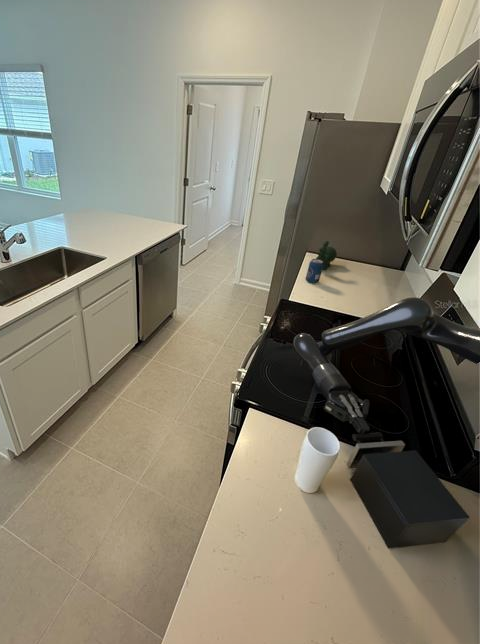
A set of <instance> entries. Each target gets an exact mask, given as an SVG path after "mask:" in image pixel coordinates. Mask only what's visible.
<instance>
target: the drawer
mask: <svg viewBox="0 0 480 644" xmlns="http://www.w3.org/2000/svg"><path fill="white" fill-rule="evenodd" d="M351 438H352V440H353V441H354V442H356V444H355V446H354V448H353V449H352V451H351V454H350V456H349V458H348V460H347V462H346V464H345V465H346V466H347V468H348V469H349V470H351V469H356V467H357V466H358V464H359V462H360V460H361V458H362V457H363V454H374V453H388V452H401V451H403V450H404V448H405V446H406V444H405V442H404V441H403V440H388V441H385V439H384V435H383V433H382V432H380V431H378V432H369V433H361V434H360V433H353V434H352V435H351ZM377 440H379V441H377ZM364 441H373V442H364Z"/></svg>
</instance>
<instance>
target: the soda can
mask: <svg viewBox="0 0 480 644" xmlns="http://www.w3.org/2000/svg"><path fill="white" fill-rule="evenodd" d="M322 269H323V261H322V260H319V259H316V258H313V259H311V260H310V262H309V263H308V268H307V271H306V276H305V281H306V283H308V284H311V285H316V284H317V283H319V282H320V279H321V275H322V272H323V270H322Z"/></svg>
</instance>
